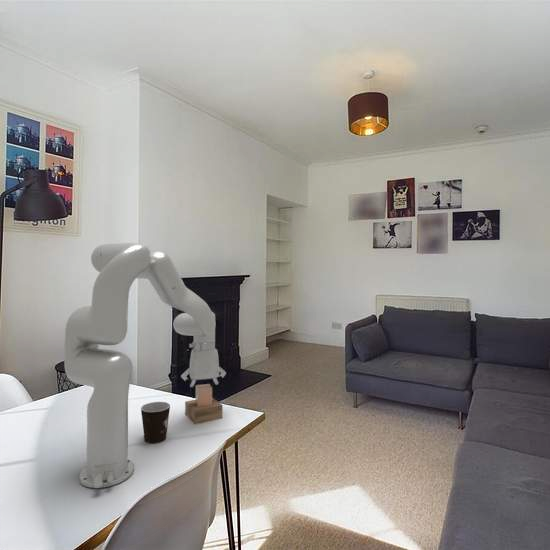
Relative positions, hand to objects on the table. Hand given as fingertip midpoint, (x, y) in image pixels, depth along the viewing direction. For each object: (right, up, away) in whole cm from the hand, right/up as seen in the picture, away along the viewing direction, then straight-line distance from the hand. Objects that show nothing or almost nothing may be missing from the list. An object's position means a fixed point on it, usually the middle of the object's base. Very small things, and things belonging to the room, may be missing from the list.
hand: (203, 395), depth 132 cm
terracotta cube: (0, -3, 0) cm, 3 cm away
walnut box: (0, -8, 0) cm, 8 cm away
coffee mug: (-12, -8, -19) cm, 24 cm away
